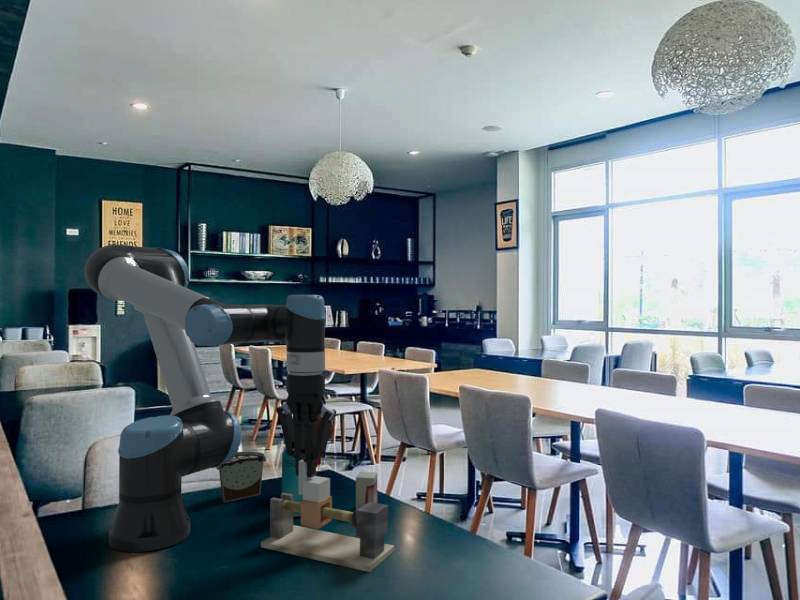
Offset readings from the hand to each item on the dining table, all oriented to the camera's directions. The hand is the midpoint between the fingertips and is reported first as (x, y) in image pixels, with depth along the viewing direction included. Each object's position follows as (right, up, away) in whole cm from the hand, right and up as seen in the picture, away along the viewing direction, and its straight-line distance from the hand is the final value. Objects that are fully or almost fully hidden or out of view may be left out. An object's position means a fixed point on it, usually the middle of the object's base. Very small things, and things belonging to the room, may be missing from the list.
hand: (305, 492), depth 117 cm
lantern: (-3, -10, +35) cm, 36 cm away
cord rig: (+4, -10, -2) cm, 11 cm away
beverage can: (-5, -10, +17) cm, 20 cm away
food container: (-22, -10, +29) cm, 38 cm away
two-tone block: (+2, -6, -1) cm, 6 cm away
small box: (+11, -11, +20) cm, 25 cm away
